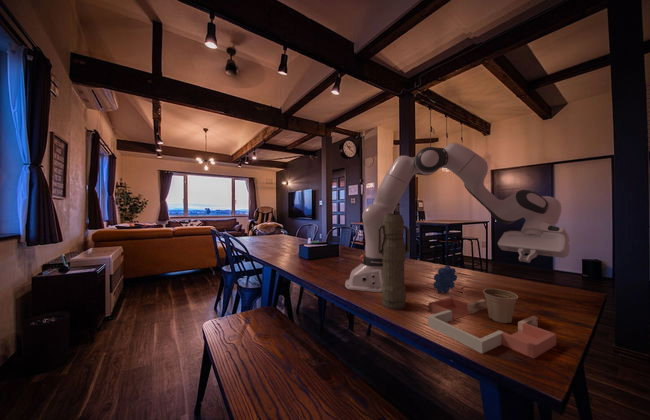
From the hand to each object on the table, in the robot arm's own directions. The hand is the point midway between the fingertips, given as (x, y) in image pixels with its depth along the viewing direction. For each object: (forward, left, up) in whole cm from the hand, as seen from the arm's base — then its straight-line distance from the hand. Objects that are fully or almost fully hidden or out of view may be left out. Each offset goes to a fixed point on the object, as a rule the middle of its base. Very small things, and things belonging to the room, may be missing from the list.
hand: (523, 261), depth 86 cm
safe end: (-29, -19, -18) cm, 39 cm away
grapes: (-22, +16, -18) cm, 32 cm away
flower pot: (-13, -9, -18) cm, 24 cm away
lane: (-13, -9, -18) cm, 23 cm away
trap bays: (-21, -14, -18) cm, 31 cm away
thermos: (-46, 0, -18) cm, 49 cm away
